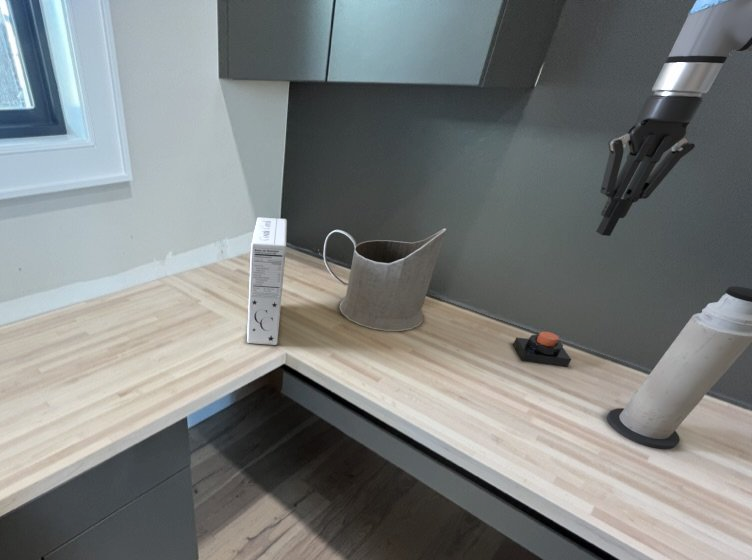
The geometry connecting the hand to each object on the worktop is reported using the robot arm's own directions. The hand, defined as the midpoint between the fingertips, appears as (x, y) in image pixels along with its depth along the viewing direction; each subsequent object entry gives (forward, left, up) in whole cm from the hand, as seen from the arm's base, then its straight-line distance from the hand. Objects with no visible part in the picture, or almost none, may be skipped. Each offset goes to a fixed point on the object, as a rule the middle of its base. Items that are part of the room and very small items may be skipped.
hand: (602, 233), depth 86 cm
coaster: (-11, +25, -30) cm, 40 cm away
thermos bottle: (-11, +25, -29) cm, 40 cm away
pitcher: (+42, -15, -30) cm, 54 cm away
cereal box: (+69, +4, -30) cm, 75 cm away
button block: (0, 0, -30) cm, 30 cm away
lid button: (0, 0, -26) cm, 26 cm away
